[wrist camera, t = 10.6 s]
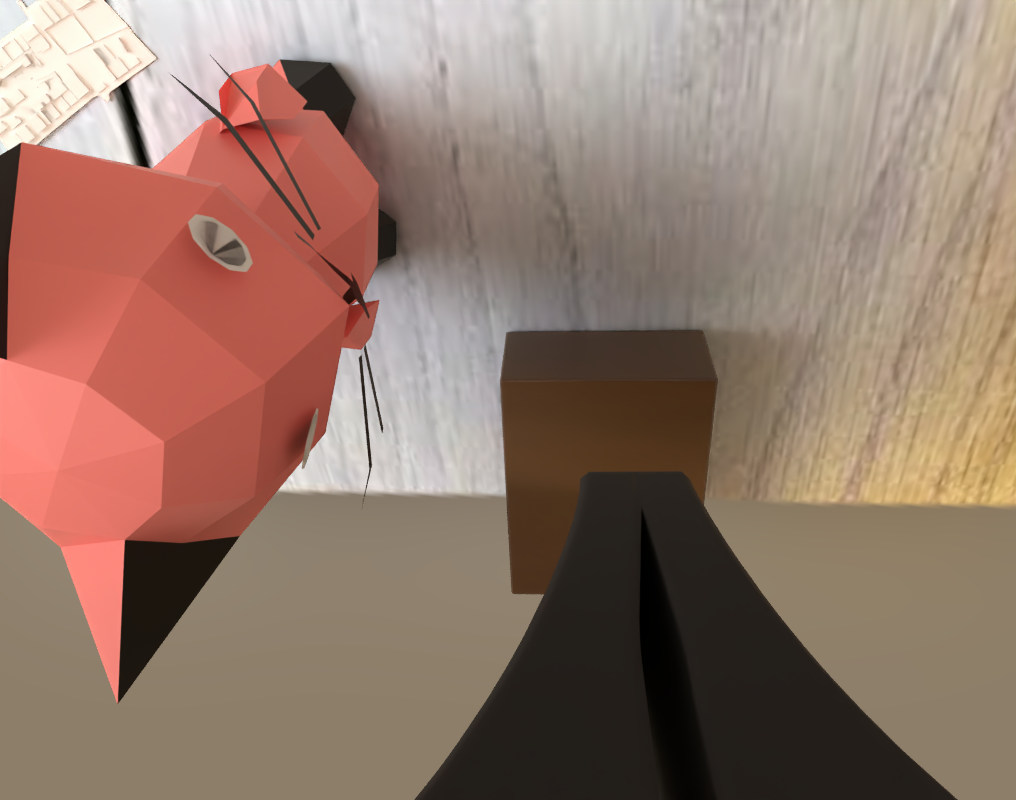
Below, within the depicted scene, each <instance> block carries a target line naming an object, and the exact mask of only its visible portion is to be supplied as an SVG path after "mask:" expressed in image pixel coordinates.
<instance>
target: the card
mask: <svg viewBox="0 0 1016 800" xmlns="http://www.w3.org/2000/svg"><path fill="white" fill-rule="evenodd" d="M17 4H18V5H19V6H20V7H21V9H22V10H23V11H24V13H25V14H26V15H27V17H28V18H29V20H27V21H26V22H24V23H23V24H22V25H20V26H19V27H18V28H16V29H15V30H13V31H12V32H11V33H9V34H8V35H7V36H5V37H4V38H2V39H1V40H0V140H1V142H2V143H3V144H4V146H5V147H6V148H7V150H10V149H11V148H13V147H14V146H16V145H18V144H19V143H21V142H23V143H28V144H33V145H37V144H38V143H39V142H40V141H41V140H43V139H44V138H45V137H46V136H47V135H49V134H50V133H51V132H52V131H53V130H55V129H56V128H57V127H58V126H60V125H61V124H62V123H63V122H64V121H66V120H67V119H68V118H69V117H70V116H72V115H73V114H74V113H75V112H76V111H78V110H79V109H80V108H81V107H82V106H84V105H85V104H86V103H87V102H88V101H90V100H91V99H92V98H93V97H95V96H101V97H102V98H103V99H104V100H105V101H106V102H108V101H109V99H110V98H109V93H110V92H111V91H112V90H114V89H115V88H116V87H118V86H119V85H121V84H122V83H123V82H125V81H126V80H128V79H129V78H130V77H132V76H133V75H135V74H136V73H137V72H139V71H140V70H142V69H143V68H144V67H146V66H147V65H149V64H150V63H151V62H153V61H154V60H155V59H157V58H156V57H155V56H154V55H153V54H152V53H151V52H150V51H149V50H148V48H147V47H146V46H145V45H144V44H143V43H142V42H141V41H140V40H139V39H138V38H137V37H136V36H135V35H134V34H133V32H132V31H131V30H130V28H129V27H128V25H127V24H126V23H125V22H124V21H123V20H122V19H121V18H120V17H119V16H118V15H117V14H116V13H115V12H114V10H113V9H112V8H111V7H110V6H109V5H108V4H107V3H106V2H105V1H104V0H37V1H36V2H34V3H33V4H31V5H30V6H29V7H27V8H26V6H25V5H24V3H23V2H22V1H21V0H18V1H17Z"/></svg>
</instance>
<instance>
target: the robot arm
mask: <svg viewBox="0 0 1016 800" xmlns="http://www.w3.org/2000/svg"><path fill="white" fill-rule="evenodd" d="M415 800H957V799H956V798H955V797H954V796H953V795H952V794H951V793H949V792H948V791H947V790H946V789H945V788H944V787H943V786H941V785H940V784H939V783H938V782H937V781H936V780H935V779H934V778H933V777H932V776H930V775H929V774H928V773H927V772H926V771H925V770H924V769H923V768H921V767H920V766H919V765H918V764H917V763H916V762H915V761H914V760H913V759H911V758H910V757H909V756H908V755H907V754H906V753H905V752H904V751H902V749H901V748H900V747H898V746H897V745H896V744H895V743H894V742H893V741H892V740H891V739H890V738H889V737H888V736H887V735H886V734H885V733H884V732H883V731H882V730H881V729H880V728H879V727H878V726H877V725H876V724H875V723H874V722H873V721H872V720H871V719H870V718H869V717H868V716H867V715H866V714H865V713H864V712H863V711H862V710H861V709H860V708H859V707H858V705H857V704H856V703H855V702H854V701H853V700H852V699H851V698H850V697H849V696H848V695H847V694H846V693H845V692H844V691H843V690H842V688H841V687H840V686H839V685H838V684H837V683H836V682H835V681H834V680H833V679H832V678H831V677H830V676H829V674H828V673H827V672H826V671H825V670H824V669H823V668H822V667H821V666H820V664H819V663H818V662H817V661H816V660H815V658H814V657H813V656H812V655H811V654H810V653H809V652H808V650H807V649H806V648H805V647H804V646H803V644H802V643H801V642H800V641H799V640H798V638H797V637H796V636H795V635H794V633H793V632H792V631H791V630H790V629H789V627H788V626H787V625H786V624H785V622H784V621H783V620H782V619H781V617H780V616H779V615H778V614H777V612H776V611H775V610H774V608H773V607H772V606H771V604H770V603H769V602H768V601H767V599H766V598H765V597H764V595H763V594H762V593H761V591H760V590H759V588H758V587H757V586H756V584H755V583H754V581H753V580H752V578H751V577H750V576H749V574H748V573H747V571H746V570H745V569H744V567H743V566H742V565H741V563H740V562H739V561H738V559H737V557H736V556H735V555H734V553H733V551H732V550H731V548H730V547H729V546H728V544H727V543H726V541H725V539H724V538H723V536H722V535H721V533H720V532H719V530H718V528H717V527H716V525H715V524H714V522H713V520H712V519H711V517H710V516H709V514H708V512H707V510H706V509H705V507H704V505H703V503H702V502H701V500H700V498H699V496H698V494H697V492H696V490H695V489H694V487H693V485H692V483H691V481H690V479H689V478H688V477H687V476H686V475H685V474H684V473H683V472H682V471H655V472H588V473H587V474H585V475H584V476H583V477H582V478H580V491H579V497H578V502H577V506H576V510H575V514H574V518H573V521H572V524H571V528H570V531H569V534H568V537H567V540H566V543H565V545H564V548H563V550H562V553H561V555H560V558H559V561H558V563H557V566H556V568H555V571H554V573H553V576H552V578H551V581H550V583H549V585H548V588H547V590H546V592H545V594H544V596H543V598H542V600H541V602H540V604H539V606H538V608H537V610H536V613H535V615H534V617H533V619H532V621H531V623H530V625H529V627H528V629H527V631H526V633H525V635H524V637H523V639H522V641H521V642H520V644H519V646H518V648H517V650H516V652H515V653H514V655H513V657H512V659H511V661H510V662H509V664H508V666H507V667H506V669H505V671H504V673H503V674H502V676H501V678H500V679H499V681H498V682H497V684H496V686H495V687H494V689H493V691H492V693H491V694H490V696H489V697H488V699H487V700H486V702H485V703H484V705H483V706H482V708H481V709H480V711H479V712H478V714H477V715H476V717H475V718H474V720H473V721H472V723H471V724H470V726H469V727H468V729H467V730H466V732H465V733H464V735H463V736H462V738H461V739H460V741H459V742H458V743H457V745H456V746H455V748H454V749H453V750H452V752H451V753H450V755H449V756H448V758H447V759H446V760H445V762H444V763H443V764H442V765H441V767H440V768H439V770H438V771H437V772H436V773H435V775H434V776H433V777H432V778H431V780H430V781H429V782H428V784H427V785H426V786H425V787H424V789H423V790H422V791H421V792H420V793H419V795H418V796H417V797H416V799H415Z"/></svg>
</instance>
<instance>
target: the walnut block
mask: <svg viewBox="0 0 1016 800" xmlns="http://www.w3.org/2000/svg"><path fill="white" fill-rule="evenodd" d="M717 384H718V378H717V375H716V372H715V368H714V365H713V362H712V358H711V355H710V352H709V349H708V345H707V342H706V339H705V335H704V332H703V331H606V332H508V333H507V334H506V339H505V347H504V354H503V362H502V370H501V377H500V389H501V408H502V426H503V444H504V462H505V480H506V498H507V516H508V534H509V552H510V570H511V588H512V593H513V594H545V592H546V590H547V588H548V585H549V583H550V581H551V578H552V576H553V573H554V571H555V568H556V566H557V563H558V561H559V558H560V555H561V553H562V550H563V548H564V545H565V543H566V540H567V537H568V534H569V531H570V528H571V524H572V521H573V518H574V514H575V510H576V506H577V502H578V497H579V491H580V478H582V477H583V476H584V475H585V474H587V473H588V472H655V471H682V472H683V473H684V474H685V475H686V476H687V477H688V478H689V479H690V481H691V483H692V485H693V487H694V489H695V490H696V492H697V494H698V496H699V498H700V500H701V502H702V503H703V505H704V498H705V490H706V481H707V472H708V463H709V454H710V445H711V437H712V428H713V419H714V410H715V401H716V393H717Z"/></svg>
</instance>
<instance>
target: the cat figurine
mask: <svg viewBox="0 0 1016 800" xmlns="http://www.w3.org/2000/svg"><path fill="white" fill-rule="evenodd" d="M211 57H212V56H211ZM212 58H213V57H212ZM213 59H214V58H213ZM214 60H215V59H214ZM216 63H217V62H216ZM217 64H218V63H217ZM218 65H219V64H218ZM219 66H220V65H219ZM220 67H221V66H220ZM221 69H222V70H223V71H224V72H225V73H226V74H227V76H228V77H229V78H228V79H227V81H226V82H225V83H224V85H223V86H222V87H221V89H220V90H219V96H220V106H221V113H220V112H218V111H217V110H216V109H214V108H213V107H212V106H211V105H209V104H208V103H207V102H206V101H204V100H203V99H202V98H201V97H199V96H198V95H197V94H195V93H194V92H193V91H192V90H190V89H189V88H188V87H187V86H185V85H184V84H183V83H182V82H180V81H179V80H178V79H176V78H175V77H174V76H173V75H172V76H173V77H174V78H175V79H176V80H177V81H178V82H180V83H181V84H182V85H183V86H184V87H185V88H186V89H187V90H188V91H189V92H190V93H192V94H193V95H194V96H195V97H196V98H197V99H198V100H199V101H200V102H201V103H202V104H204V105H205V106H206V107H207V108H208V109H209V110H210V111H211V112H212V113H213V114H214V115H216V116H217V117H214V118H212V119H210V120H207V121H205V122H204V123H203V124H202V125H201V126H200V127H199V128H197V129H196V130H195V131H194V132H193V133H192V134H191V135H190V136H188V137H187V138H186V139H185V140H184V141H183V142H182V143H181V144H180V145H178V146H177V147H176V148H175V149H174V150H173V151H172V152H171V153H169V154H168V155H167V156H166V157H165V158H164V159H163V160H162V161H161V162H159V163H158V164H157V165H156V166H155V167H154V168H153V169H150V168H145V167H140V166H135V165H130V164H126V163H121V162H116V161H111V160H106V159H101V158H96V157H91V156H86V155H82V154H77V153H72V152H67V151H62V150H57V149H53V148H48V147H43V146H38V145H33V144H28V143H23V142H21V143H19V144H18V145H16V146H14V147H13V148H11V149H10V150H8V151H7V152H5V153H3V154H2V155H0V498H2V499H3V500H4V501H5V502H7V503H8V504H9V505H10V506H12V507H13V508H14V509H15V510H16V511H18V512H19V513H20V514H21V515H22V516H23V517H25V518H26V519H27V520H28V521H29V522H31V523H32V524H33V525H34V526H36V527H37V528H38V529H39V530H41V531H42V532H43V533H44V534H45V535H46V536H48V537H49V538H50V539H51V540H53V541H54V542H55V543H56V544H57V545H59V546H60V547H61V550H62V552H63V555H64V557H65V560H66V563H67V566H68V569H69V571H70V574H71V577H72V580H73V583H74V585H75V588H76V591H77V593H78V596H79V599H80V602H81V605H82V607H83V610H84V613H85V616H86V618H87V621H88V624H89V627H90V629H91V632H92V635H93V638H94V640H95V643H96V646H97V648H98V651H99V654H100V657H101V659H102V662H103V665H104V668H105V670H106V673H107V676H108V679H109V682H110V684H111V687H112V690H113V693H114V695H115V698H116V701H117V703H119V702H120V700H121V699H122V698H123V696H124V695H125V693H126V692H127V691H128V689H129V688H130V687H131V685H132V684H133V682H134V681H135V680H136V678H137V677H138V675H139V674H140V673H141V671H142V670H143V669H144V667H145V666H146V665H147V663H148V662H149V660H150V659H151V658H152V656H153V655H154V654H155V652H156V651H157V649H158V648H159V646H160V645H161V644H162V642H163V641H164V640H165V638H166V637H167V636H168V634H169V633H170V631H171V630H172V629H173V627H174V626H175V624H176V623H177V622H178V620H179V619H180V618H181V616H182V615H183V614H184V612H185V611H186V609H187V608H188V607H189V605H190V604H191V603H192V601H193V600H194V598H195V597H196V596H197V594H198V593H199V592H200V590H201V588H202V587H203V586H204V585H205V583H206V582H207V580H208V579H209V578H210V576H211V575H212V574H213V572H214V571H215V569H216V568H217V567H218V565H219V564H220V563H221V561H222V560H223V558H224V557H225V556H226V554H227V553H228V552H229V550H230V549H231V547H232V546H233V545H234V543H235V542H236V540H237V539H238V538H239V536H240V535H241V534H242V533H243V531H244V530H245V529H246V528H247V527H248V526H249V524H250V523H251V522H252V521H253V519H254V518H255V517H256V516H257V514H258V513H259V512H260V511H261V510H262V509H263V507H264V506H265V505H266V504H267V502H268V501H269V500H270V499H271V498H272V496H273V495H274V494H275V493H276V492H277V491H278V489H279V488H280V487H281V486H282V485H283V483H284V482H285V481H286V480H287V478H288V477H289V476H290V475H291V474H292V472H293V471H294V470H295V469H296V468H297V466H298V465H299V464H300V463H301V462H302V460H303V464H302V469H303V468H304V467H305V464H306V462H307V459H308V456H309V453H310V451H311V450H312V448H313V447H314V446H315V445H316V444H317V442H318V441H319V440H320V439H321V437H322V436H323V435H324V434H325V432H326V427H327V421H328V416H329V411H330V406H331V400H332V395H333V390H334V385H335V379H336V374H337V369H338V363H339V358H340V353H341V348H342V347H343V348H351V349H360V350H361V349H362V348H363V347H364V345H365V347H364V352H365V356H366V361H367V366H368V370H369V375H370V380H371V384H372V389H373V394H374V398H375V403H376V407H377V412H378V417H379V421H380V426H381V431H382V432H383V425H382V420H381V415H380V411H379V406H378V401H377V396H376V392H375V387H374V382H373V377H372V373H371V368H370V363H369V359H368V354H367V349H366V343H367V341H368V340H369V339H370V337H371V335H372V331H373V326H374V322H375V318H376V313H377V309H378V304H379V300H377V301H372V302H367V303H365V302H364V299H363V295H364V293H365V290H366V288H367V286H368V284H369V281H370V279H371V277H372V275H373V272H374V270H375V268H376V266H378V265H380V264H381V263H383V262H385V261H386V260H388V259H390V258H392V257H393V256H395V255H396V221H394V220H393V219H392V218H390V217H389V216H388V215H386V214H385V213H384V212H382V211H381V210H380V209H378V206H379V184H378V183H377V182H376V180H375V179H374V178H373V176H372V175H371V174H370V172H369V171H368V170H367V168H366V167H365V166H364V164H363V163H362V162H361V160H360V159H359V158H358V156H357V155H356V154H355V152H354V151H353V150H352V148H351V147H350V146H349V144H348V143H347V142H346V140H345V139H344V138H343V134H344V131H345V128H346V125H347V122H348V119H349V116H350V113H351V109H352V106H353V103H354V100H355V97H354V96H353V94H352V93H351V91H350V90H349V89H348V87H347V86H346V84H345V83H344V82H343V80H342V79H341V77H340V76H339V74H338V73H337V72H336V70H335V69H334V67H333V66H332V65H331V63H321V62H307V61H293V60H279V61H278V62H277V63H276V64H275V65H274V67H273V68H272V67H271V66H270V65H269V64H265V65H261V66H257V67H254V68H250V69H246V70H243V71H239V72H235V73H232V74H231V75H230V76H229V74H228V73H227V72H226V71H225V70H224V69H223V68H222V67H221ZM356 301H358V302H359V303H360V304H357V305H352V304H354V303H355V302H356ZM351 305H352V306H351ZM359 363H360V374H361V384H362V395H363V405H364V416H365V427H366V437H367V448H368V458H369V469H370V470H369V475H368V480H369V476H370V471H371V467H372V462H371V451H370V440H369V430H368V419H367V408H366V397H365V386H364V376H363V365H362V355H361V356H360V357H359ZM368 480H367V484H368ZM366 488H367V485H366ZM365 493H366V490H365ZM364 496H365V495H364Z"/></svg>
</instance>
